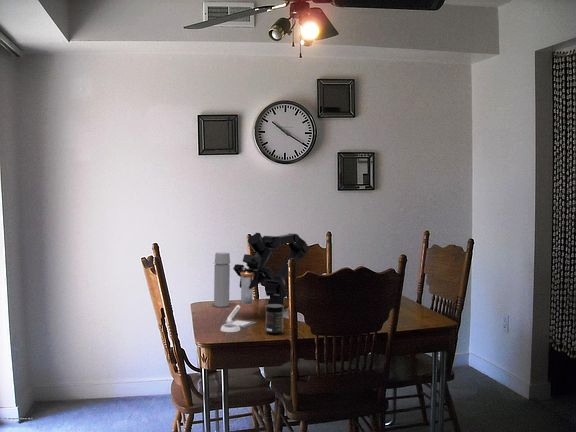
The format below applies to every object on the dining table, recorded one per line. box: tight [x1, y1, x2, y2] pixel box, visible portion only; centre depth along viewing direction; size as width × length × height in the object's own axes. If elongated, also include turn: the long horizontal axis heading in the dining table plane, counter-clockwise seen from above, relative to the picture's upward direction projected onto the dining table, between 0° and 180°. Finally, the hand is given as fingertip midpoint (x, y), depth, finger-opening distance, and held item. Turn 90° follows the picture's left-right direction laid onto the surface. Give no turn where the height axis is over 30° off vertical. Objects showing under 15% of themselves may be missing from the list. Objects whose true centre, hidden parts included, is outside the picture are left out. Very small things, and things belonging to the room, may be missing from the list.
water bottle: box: [213, 251, 231, 308], centre depth 250 cm, size 9×8×25 cm
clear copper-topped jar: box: [240, 271, 255, 305], centre depth 224 cm, size 6×6×13 cm
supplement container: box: [265, 304, 284, 336], centre depth 202 cm, size 7×7×10 cm
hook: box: [220, 304, 241, 333], centre depth 205 cm, size 8×12×7 cm
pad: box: [222, 318, 258, 329], centre depth 215 cm, size 10×10×1 cm
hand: (245, 287), depth 223 cm, fingers closed on clear copper-topped jar, 5 cm apart
